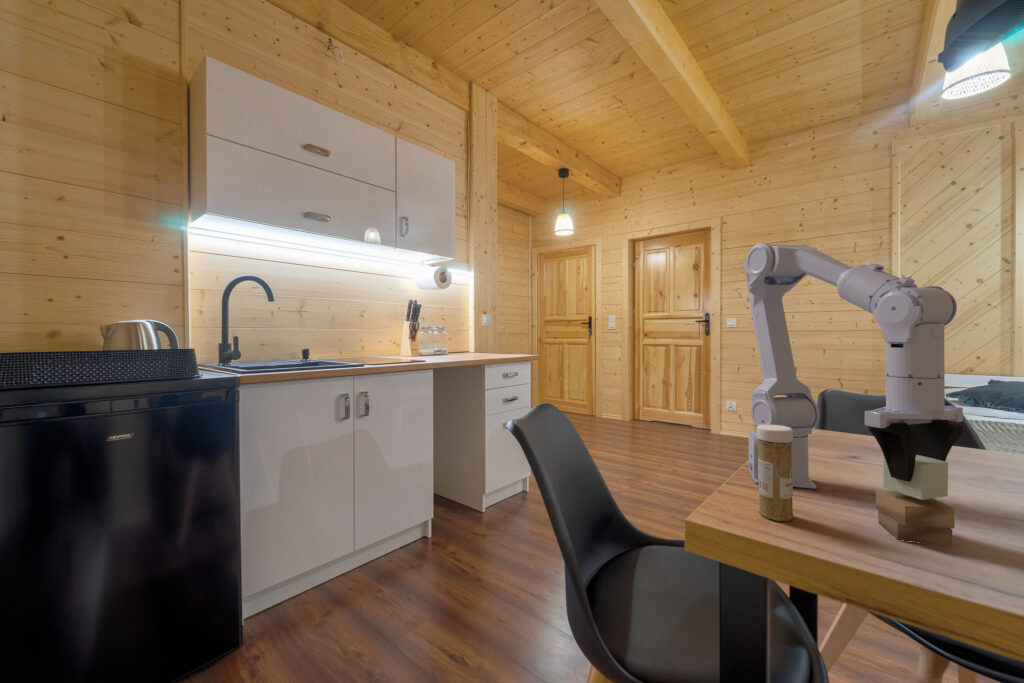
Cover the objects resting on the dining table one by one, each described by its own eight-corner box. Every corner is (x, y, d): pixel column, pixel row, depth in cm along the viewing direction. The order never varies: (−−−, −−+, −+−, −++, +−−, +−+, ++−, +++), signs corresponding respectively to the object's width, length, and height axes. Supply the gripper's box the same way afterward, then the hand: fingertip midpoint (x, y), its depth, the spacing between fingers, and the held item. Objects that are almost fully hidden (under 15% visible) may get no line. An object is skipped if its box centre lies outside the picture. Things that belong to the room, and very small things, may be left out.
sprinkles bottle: (798, 524, 60) (797, 430, 60) (762, 520, 62) (761, 429, 62) (788, 511, 65) (787, 424, 65) (754, 508, 66) (753, 422, 66)
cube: (921, 499, 54) (922, 464, 54) (883, 487, 58) (883, 455, 58) (947, 496, 55) (948, 462, 55) (908, 484, 59) (908, 452, 59)
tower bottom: (897, 543, 55) (897, 523, 55) (878, 525, 60) (878, 507, 60) (952, 549, 53) (952, 529, 53) (927, 531, 58) (927, 512, 58)
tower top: (905, 525, 54) (905, 505, 54) (876, 508, 60) (875, 490, 60) (954, 528, 54) (954, 508, 54) (920, 510, 59) (920, 492, 59)
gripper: (906, 381, 51) (907, 493, 51) (992, 377, 54) (993, 482, 54) (848, 376, 58) (849, 475, 58) (927, 373, 61) (928, 466, 61)
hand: (914, 477), depth 57 cm, fingers closed on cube, 4 cm apart
